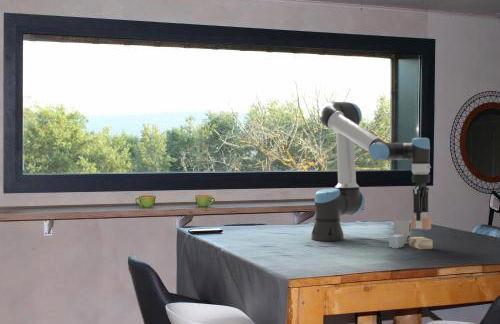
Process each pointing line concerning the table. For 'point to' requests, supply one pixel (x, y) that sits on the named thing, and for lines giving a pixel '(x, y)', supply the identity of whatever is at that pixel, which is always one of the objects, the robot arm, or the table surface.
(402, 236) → the slate block
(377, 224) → the table surface
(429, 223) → the terracotta block
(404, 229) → the cup
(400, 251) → the table surface
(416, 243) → the maple block
